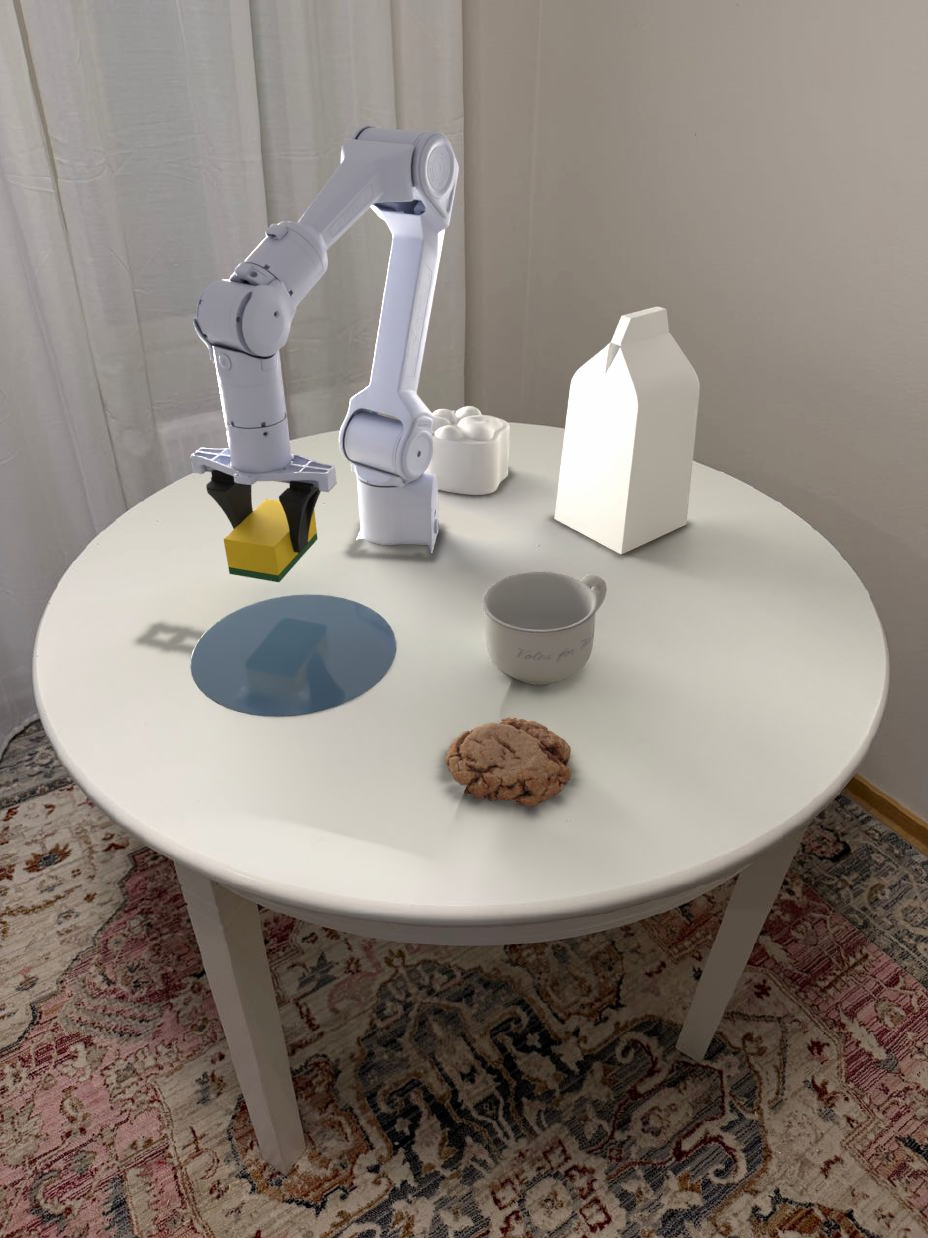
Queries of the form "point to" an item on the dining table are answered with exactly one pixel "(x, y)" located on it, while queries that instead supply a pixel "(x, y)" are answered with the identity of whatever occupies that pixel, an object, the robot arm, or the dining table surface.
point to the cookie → (510, 761)
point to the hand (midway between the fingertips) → (273, 543)
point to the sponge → (264, 544)
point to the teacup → (541, 624)
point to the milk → (630, 437)
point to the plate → (293, 655)
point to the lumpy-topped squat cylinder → (469, 451)
